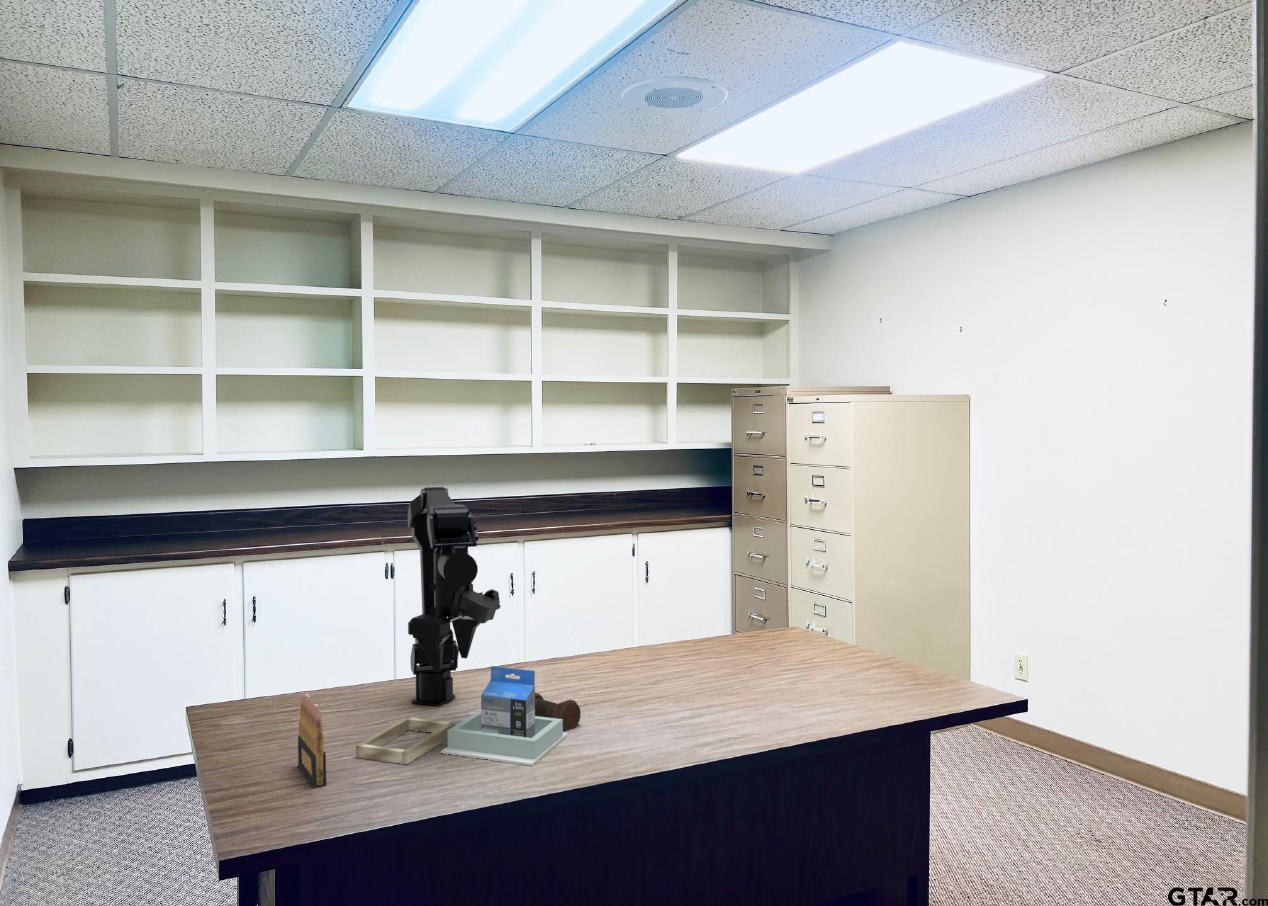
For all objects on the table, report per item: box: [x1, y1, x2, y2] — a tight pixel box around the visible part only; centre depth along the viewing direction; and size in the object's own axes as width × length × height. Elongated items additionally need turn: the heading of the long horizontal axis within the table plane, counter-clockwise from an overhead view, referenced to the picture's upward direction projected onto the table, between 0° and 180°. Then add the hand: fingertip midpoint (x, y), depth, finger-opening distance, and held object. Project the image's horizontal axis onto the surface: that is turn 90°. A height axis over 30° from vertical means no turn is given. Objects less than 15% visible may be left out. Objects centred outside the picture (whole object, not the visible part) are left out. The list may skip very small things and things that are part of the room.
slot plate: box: [440, 709, 569, 767], centre depth 152 cm, size 17×15×3 cm
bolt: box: [535, 692, 582, 732], centre depth 165 cm, size 6×5×15 cm
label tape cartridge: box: [480, 665, 536, 738], centre depth 152 cm, size 9×4×12 cm, turn 71°
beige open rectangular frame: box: [355, 716, 456, 765], centre depth 152 cm, size 10×15×2 cm, turn 161°
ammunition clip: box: [297, 693, 327, 789], centre depth 139 cm, size 11×2×12 cm, turn 33°
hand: (451, 664), depth 156 cm, fingers open, 9 cm apart
